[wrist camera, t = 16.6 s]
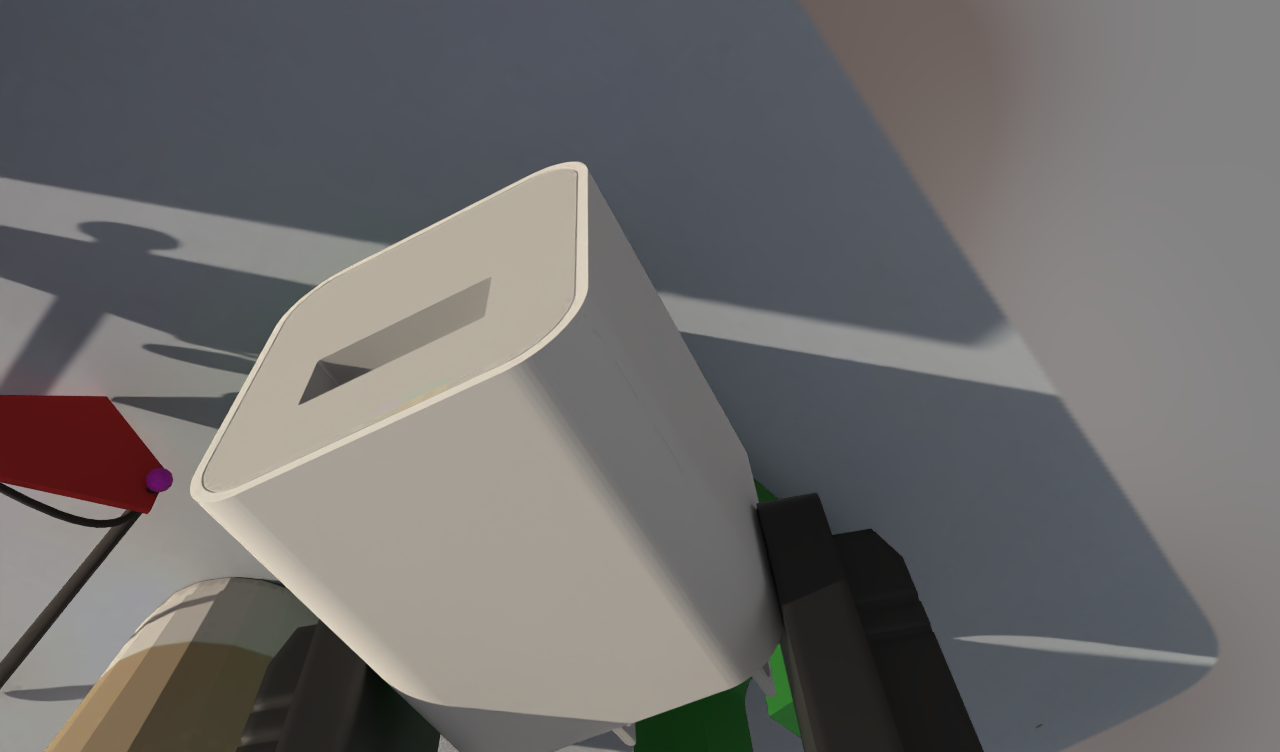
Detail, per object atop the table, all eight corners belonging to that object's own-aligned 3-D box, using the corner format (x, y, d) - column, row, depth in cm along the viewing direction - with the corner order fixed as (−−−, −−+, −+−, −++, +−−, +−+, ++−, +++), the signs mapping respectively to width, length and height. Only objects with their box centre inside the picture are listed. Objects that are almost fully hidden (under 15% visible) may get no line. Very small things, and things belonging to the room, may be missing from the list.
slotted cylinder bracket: (293, 428, 30) (228, 566, 24) (475, 243, 27) (448, 353, 21) (673, 681, 37) (689, 832, 31) (849, 559, 34) (900, 701, 28)
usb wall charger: (587, 145, 10) (588, 332, 7) (808, 544, 14) (879, 795, 10) (292, 295, 11) (164, 527, 8) (572, 635, 15) (568, 893, 11)
